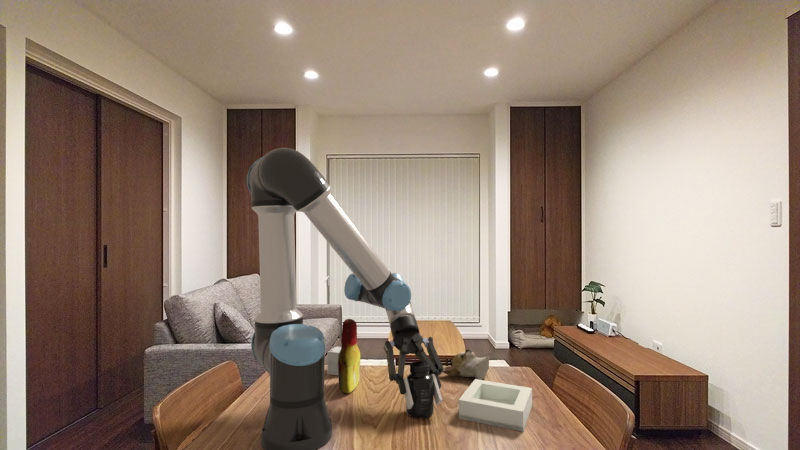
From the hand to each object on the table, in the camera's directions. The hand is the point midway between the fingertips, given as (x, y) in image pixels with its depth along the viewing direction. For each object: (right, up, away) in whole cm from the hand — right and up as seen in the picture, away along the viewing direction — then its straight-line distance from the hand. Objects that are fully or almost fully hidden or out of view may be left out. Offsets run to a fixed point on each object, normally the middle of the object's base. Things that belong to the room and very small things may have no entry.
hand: (425, 404), depth 94 cm
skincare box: (-26, -5, +33) cm, 42 cm away
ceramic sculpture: (+15, -5, +29) cm, 33 cm away
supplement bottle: (-1, -4, +3) cm, 5 cm away
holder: (+18, -4, +4) cm, 19 cm away
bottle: (-21, -4, +20) cm, 29 cm away
